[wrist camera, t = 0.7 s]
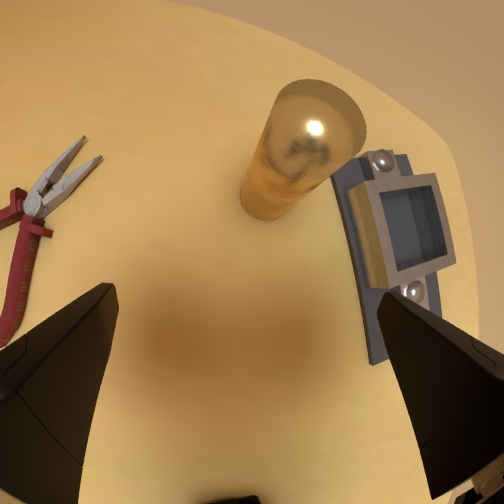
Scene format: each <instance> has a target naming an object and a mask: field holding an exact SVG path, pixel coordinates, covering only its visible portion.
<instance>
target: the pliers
mask: <svg viewBox="0 0 504 504" xmlns="http://www.w3.org/2000/svg"><path fill="white" fill-rule="evenodd" d="M85 138H86V137H85V136H83V137H81V138H80V139H79V140H78V141H77V142H76V143H74V144H73V145H72V146H71V147H70V148H69V149H68V150H67V151H65V152H64V153H63V154H62V155H61V156H60V157H59V158H58V159H57V160H56V161H55V162H54V163H53V164H52V165H50V166H49V167H48V168H47V169H46V170H45V171H44V173H43V174H42V175H41V176H40V178H39V179H38V180H37V182H36V183H35V185H34V186H33V188H32V189H31V191H30V192H29V194H28V196H27V192H26V191H24V190H22V189H20V188H18V187H17V188H15V189H13V190H11V192H10V205H9V206H7V207H5V208H3V209H2V210H0V230H1V229H3V228H5V227H7V226H10V225H12V224H14V223H16V222H18V221H20V220H21V222H20V226H19V228H20V229H19V233H18V236H17V240H16V244H15V249H14V253H13V257H12V262H11V267H10V272H9V278H8V284H7V290H6V297H5V302H4V307H3V311H2V314H1V317H0V348H2V347H3V346H5V345H6V343H7V342H8V340H9V339H10V337H11V336H12V335H13V333H14V332H15V331H16V329H17V328H18V327H19V324H20V322H21V320H22V316H23V313H24V309H25V305H26V300H27V293H28V288H29V282H30V277H31V272H32V267H33V263H34V258H35V254H36V250H37V246H38V242H39V238H40V235H41V236H45V237H48V238H51V237H52V234H53V231H52V230H49V229H46V228H43V227H44V223H45V221H43V220H40V219H43V218H44V217H45V216H46V215H48V214H49V213H50V212H51V211H52V210H53V209H55V208H56V207H57V206H58V205H59V204H60V203H61V202H62V201H64V200H65V199H66V198H67V197H68V195H69V194H70V193H71V192H72V191H73V190H74V188H75V187H76V186H77V185H78V184H79V183H80V181H81V180H82V179H83V178H84V177H85V176H86V175H87V174H88V172H89V171H90V170H91V169H92V168H93V167H94V166H95V165H96V164H97V163H98V162H99V161H100V160H101V159H102V156H101V155H100V156H98V157H96V158H95V159H93V160H91V161H90V162H88V163H86V164H85V165H83V166H81V167H80V168H78V169H76V170H75V171H73V172H72V173H70V174H69V175H67V176H65V177H64V178H63V179H61V180H60V181H59V179H60V178H61V176H62V175H63V173H64V172H65V170H66V168H67V167H68V165H69V163H70V162H71V160H72V158H73V157H74V155H75V154H76V152H77V150H78V149H79V147H80V146H81V144H82V143H83V141H84V140H85ZM58 181H59V182H58ZM51 184H55V185H54V186H53V189H52V190H50V191H49V192H48V193H47V194H46V191H47V188H48V187H49V185H51Z"/></svg>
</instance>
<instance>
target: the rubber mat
mask: <svg viewBox="0 0 504 504" xmlns="http://www.w3.org/2000/svg"><path fill="white" fill-rule="evenodd" d="M394 156H395V159H396V162H397V165H398V168H399V171H400V174H401V177H402V176H411V175H413V172H412V169H411V166H410V163H409V160H408V157H407V154H401V155H394ZM331 180H332V183H333V187H334V190H335V194H336V198H337V201H338V205H339V209H340V213H341V217H342V221H343V225H344V229H345V233H346V237H347V241H348V245H349V250H350V254H351V259H352V263H353V268H354V273H355V278H356V283H357V288H358V293H359V298H360V304H361V310H362V315H363V321H364V328H365V334H366V341H367V348H368V355H369V362H370V364H371V365H373V366H374V365H376V364H378V363H380V362H383V361H385V360H387V359H389V356H388V353H387V350H386V347H385V344H384V340H383V336H382V333H381V329H380V326H379V322H378V319H377V309H378V306H379V304H380V301H381V299H382V296H383V294H384V293H385V292H387V291H391V288H390V289H383V288H366V285H365V279H364V274H363V269H362V265H361V260H360V255H359V251H358V246H357V242H356V238H355V234H354V229H353V225H352V221H351V217H350V214H349V210H348V206H347V202H346V199H345V195H344V193H345V192H347V191H349V190H350V189H352V188H354V187H355V186H357V185H359V184H360V183H362V182H364V181H365V177H364V174H363V171H362V168H361V164H360V161H359V158H351V159H350V160H349V161H348V162H347V163H345V164H344V165H343V166H342V167H340V168H339V169H338V170H337V171H335V172H334V173H333V174H332V175H331ZM380 200H381V203H382V207H383V211H384V215H385V219H386V223H387V227H388V231H389V235H390V239H391V244H392V248H393V253H394V258H395V263H396V266H397V265H400V264H403V263H406V262H409V261H412V260H415V259H418V258H421V257H423V255H422V250H421V245H420V240H419V236H418V231H417V227H416V223H415V219H414V215H413V211H412V207H411V203H410V200H409V196H408V195H402V196H396V197H390V198H384V199H380ZM425 280H426V287H427V293H428V301H429V309H430V312H432V313H434V314H436V315H437V316H439V317H441V318H442V311H441V302H440V294H439V286H438V279H437V273H436V272H433V273H431V274H428V275H425Z"/></svg>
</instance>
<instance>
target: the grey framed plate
mask: <svg viewBox="0 0 504 504" xmlns="http://www.w3.org/2000/svg"><path fill="white" fill-rule="evenodd" d="M359 161H360V164H361V168H362V171H363V174H364V177H365V181H364V182H362V183H360V184H359V185H357V186H355V187H354V188H352V189H350V190H349V191H347V192H345V193H344V195H345V199H346V202H347V206H348V210H349V214H350V217H351V221H352V225H353V229H354V234H355V238H356V242H357V246H358V251H359V255H360V260H361V265H362V269H363V274H364V279H365V285H366V288H383V289H390V288H391V291H395V292H397V293H399V294H401V295H403V296H404V297H406V298H408V299H410V300H411V301H413V302H415V303H417V304H418V305H420V306H422V307H424V308H425V309H427V310H429V311H430V309H429V301H428V293H427V287H426V280H425V275H428V274H431V273H433V272H436V271H438V270H441V269H443V268H446V267H448V266H450V265H453V264H455V263H456V258H455V252H454V246H453V241H452V236H451V232H450V227H449V223H448V218H447V214H446V210H445V206H444V202H443V199H442V195H441V191H440V188H439V185H438V181H437V178H436V175H435V173H430V174H420V175H411V176H402V177H401V174H400V171H399V168H398V165H397V162H396V159H395V156H394V153H393V150H384V149H381V150H378V151H366V152H365V153H364V154H362V155H361V156H360V157H359ZM402 195H408V196H409V200H410V203H411V207H412V211H413V215H414V219H415V223H416V227H417V231H418V236H419V240H420V245H421V250H422V255H423V257H421V258H418V259H415V260H412V261H409V262H406V263H403V264H400V265H397V266H396V263H395V258H394V253H393V248H392V244H391V239H390V235H389V231H388V227H387V223H386V219H385V215H384V211H383V207H382V203H381V200H380V199H384V198H390V197H396V196H402Z"/></svg>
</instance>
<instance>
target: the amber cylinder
mask: <svg viewBox="0 0 504 504" xmlns="http://www.w3.org/2000/svg"><path fill="white" fill-rule="evenodd" d="M365 139H366V123H365V120H364V117H363V114H362V112H361V110H360V109H359V107H358V105H357V104H356V103H355V102H354V100H353V99H352V98H351V97H350V96H349V95H348V94H346V93H345V92H344V91H343V90H341V89H340V88H338V87H336V86H334V85H332V84H330V83H327V82H324V81H320V80H315V79H303V80H298V81H295V82H292V83H290V84H288V85H287V86H285V87H284V88H283V89H282V90H281V91H280V92H279V94H278V96H277V98H276V100H275V102H274V105H273V107H272V110H271V112H270V115H269V117H268V120H267V122H266V125H265V127H264V130H263V132H262V135H261V138H260V140H259V143H258V145H257V148H256V150H255V153H254V156H253V158H252V161H251V163H250V166H249V169H248V171H247V174H246V177H245V179H244V182H243V185H242V187H241V191H240V200H241V203H242V206H243V208H244V209H245V211H246V212H247V213H248V214H249V215H251V216H252V217H254V218H256V219H258V220H262V221H270V220H275V219H277V218H279V217H280V216H282V215H283V214H284V213H285V212H287V211H288V210H289V209H290V208H291V207H293V206H294V205H295V204H296V203H297V202H299V201H300V200H301V199H302V198H304V197H305V196H306V195H307V194H308V193H310V192H311V191H312V190H313V189H315V188H316V187H317V186H318V185H319V184H321V183H322V182H323V181H324V180H326V179H327V178H328V177H329V176H331V175H332V174H333V173H334V172H335V171H337V170H338V169H339V168H340V167H342V166H343V165H344V164H345V163H347V162H348V161H349V160H350V159H351V158H353V157H354V156H355V155H356V154H358V152H359V151H360V150H361V149H362V147H363V145H364V143H365Z"/></svg>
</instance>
